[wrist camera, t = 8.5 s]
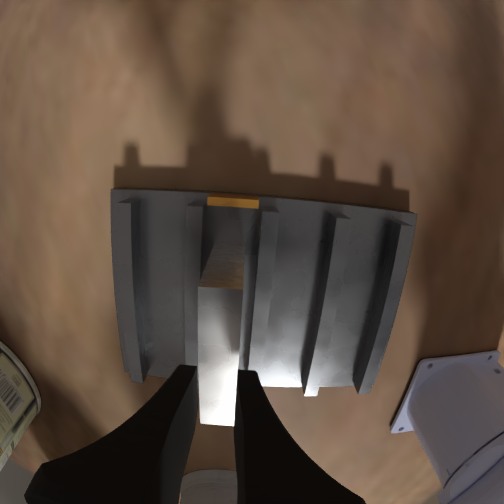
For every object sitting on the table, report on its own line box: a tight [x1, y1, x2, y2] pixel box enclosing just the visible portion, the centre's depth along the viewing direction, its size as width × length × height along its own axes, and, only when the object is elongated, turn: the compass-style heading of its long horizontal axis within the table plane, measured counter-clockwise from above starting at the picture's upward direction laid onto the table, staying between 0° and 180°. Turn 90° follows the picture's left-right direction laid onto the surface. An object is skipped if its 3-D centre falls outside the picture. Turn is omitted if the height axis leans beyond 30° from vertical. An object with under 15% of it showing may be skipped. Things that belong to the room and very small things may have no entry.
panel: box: [198, 243, 245, 426], centre depth 15 cm, size 2×7×6 cm, turn 176°
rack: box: [111, 188, 417, 396], centre depth 18 cm, size 17×12×2 cm
